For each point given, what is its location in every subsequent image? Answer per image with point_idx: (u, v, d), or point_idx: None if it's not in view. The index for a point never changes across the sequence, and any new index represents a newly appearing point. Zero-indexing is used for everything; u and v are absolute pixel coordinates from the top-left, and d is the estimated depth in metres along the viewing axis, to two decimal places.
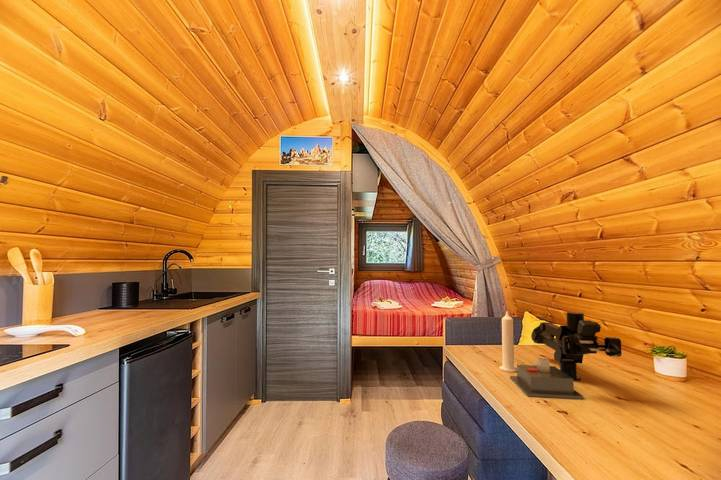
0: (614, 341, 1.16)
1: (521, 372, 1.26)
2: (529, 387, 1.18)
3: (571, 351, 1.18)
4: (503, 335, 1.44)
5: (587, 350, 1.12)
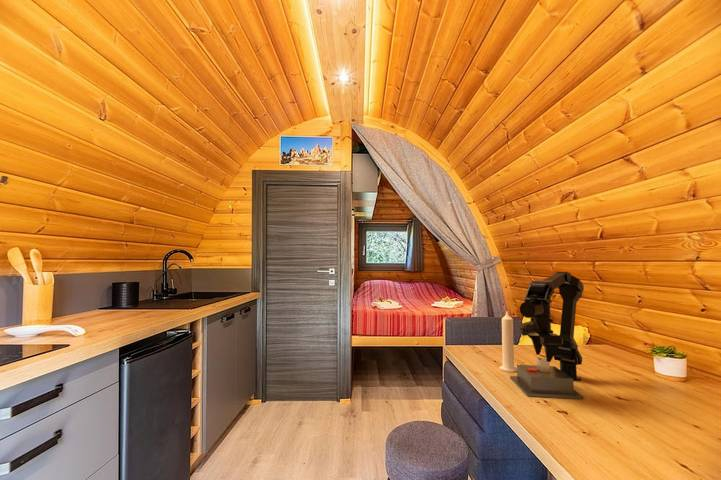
0: (543, 345, 1.18)
1: (521, 372, 1.26)
2: (529, 387, 1.18)
3: None
4: (503, 335, 1.44)
5: None
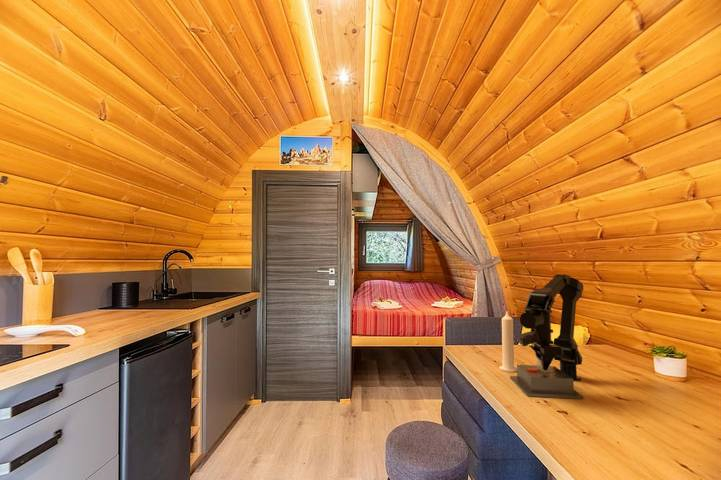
0: (540, 354, 1.20)
1: (521, 372, 1.26)
2: (529, 387, 1.18)
3: None
4: (503, 335, 1.44)
5: None
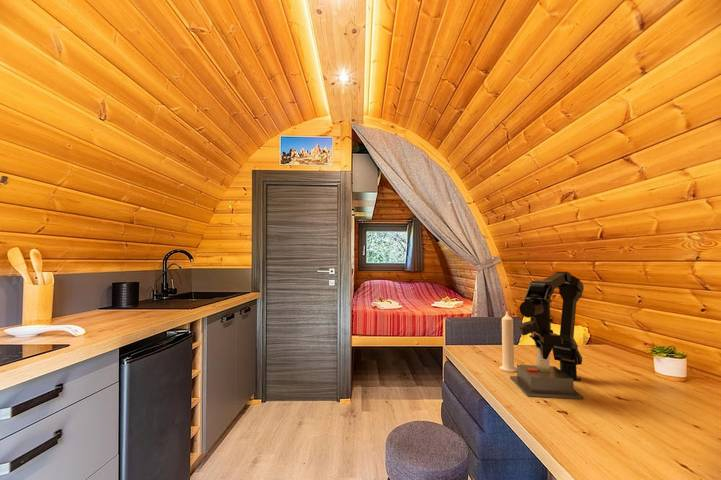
0: (540, 343, 1.20)
1: (521, 372, 1.26)
2: (529, 387, 1.18)
3: None
4: (503, 335, 1.44)
5: None
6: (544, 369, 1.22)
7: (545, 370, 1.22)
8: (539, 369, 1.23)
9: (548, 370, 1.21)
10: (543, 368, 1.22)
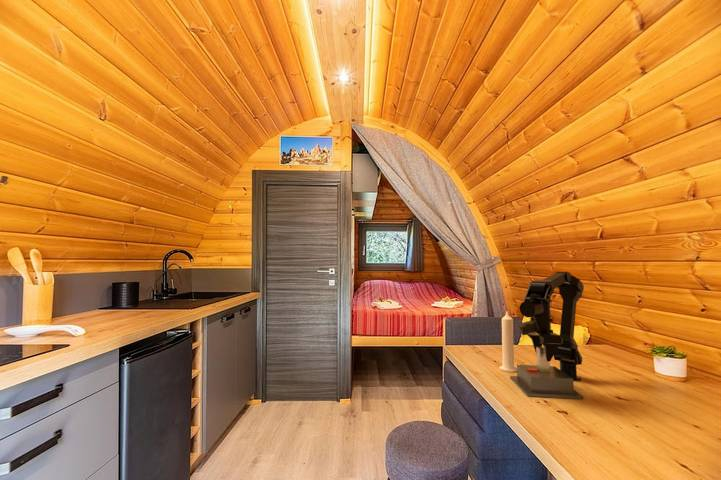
0: (543, 344, 1.18)
1: (521, 372, 1.26)
2: (529, 387, 1.18)
3: None
4: (503, 335, 1.44)
5: None
6: (544, 369, 1.22)
7: (545, 370, 1.22)
8: (539, 369, 1.23)
9: (548, 370, 1.21)
10: (543, 368, 1.22)
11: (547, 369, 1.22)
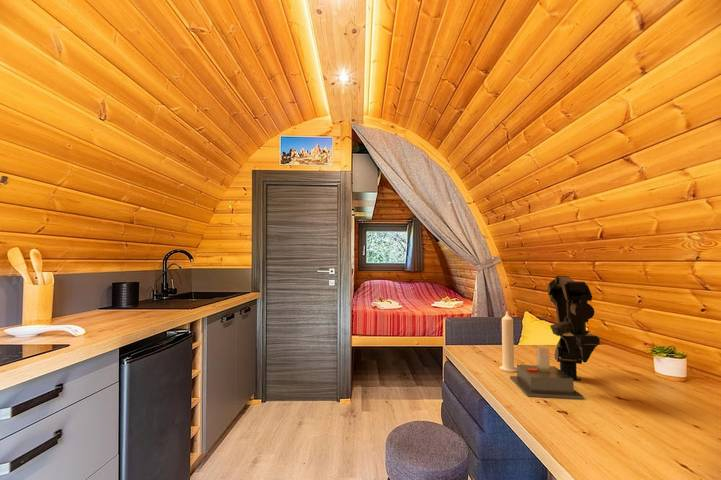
0: (579, 345, 1.16)
1: (521, 372, 1.26)
2: (529, 387, 1.18)
3: None
4: (503, 335, 1.44)
5: None
6: (544, 369, 1.22)
7: (545, 370, 1.22)
8: (539, 369, 1.23)
9: (548, 370, 1.21)
10: (543, 368, 1.22)
11: (547, 369, 1.22)
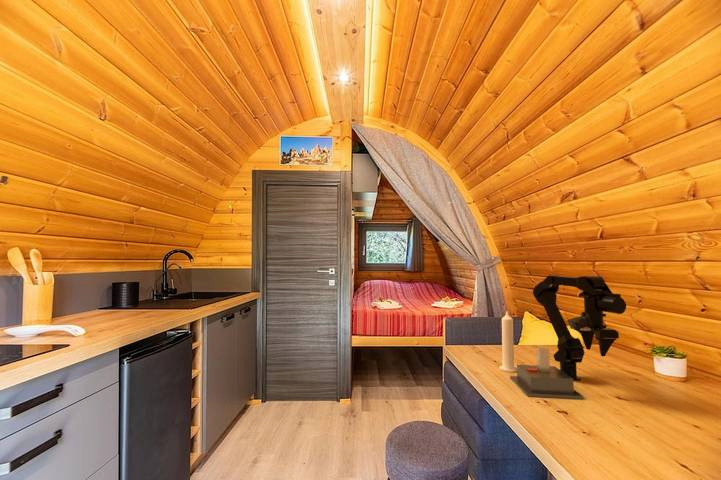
0: (598, 339, 1.17)
1: (521, 372, 1.26)
2: (529, 387, 1.18)
3: None
4: (503, 335, 1.44)
5: None
6: (544, 369, 1.22)
7: (545, 370, 1.22)
8: (539, 369, 1.23)
9: (548, 370, 1.21)
10: (543, 368, 1.22)
11: (547, 369, 1.22)
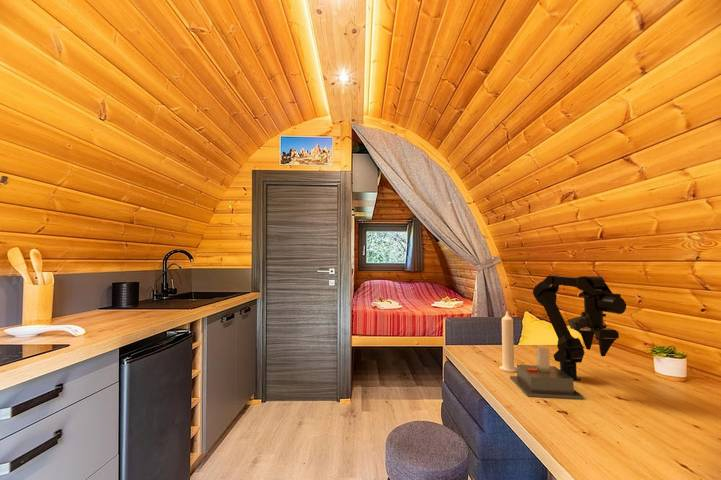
0: (598, 339, 1.17)
1: (521, 372, 1.26)
2: (529, 387, 1.18)
3: None
4: (503, 335, 1.44)
5: None
6: (544, 369, 1.22)
7: (545, 370, 1.22)
8: (539, 369, 1.23)
9: (548, 370, 1.21)
10: (543, 368, 1.22)
11: (547, 369, 1.22)
